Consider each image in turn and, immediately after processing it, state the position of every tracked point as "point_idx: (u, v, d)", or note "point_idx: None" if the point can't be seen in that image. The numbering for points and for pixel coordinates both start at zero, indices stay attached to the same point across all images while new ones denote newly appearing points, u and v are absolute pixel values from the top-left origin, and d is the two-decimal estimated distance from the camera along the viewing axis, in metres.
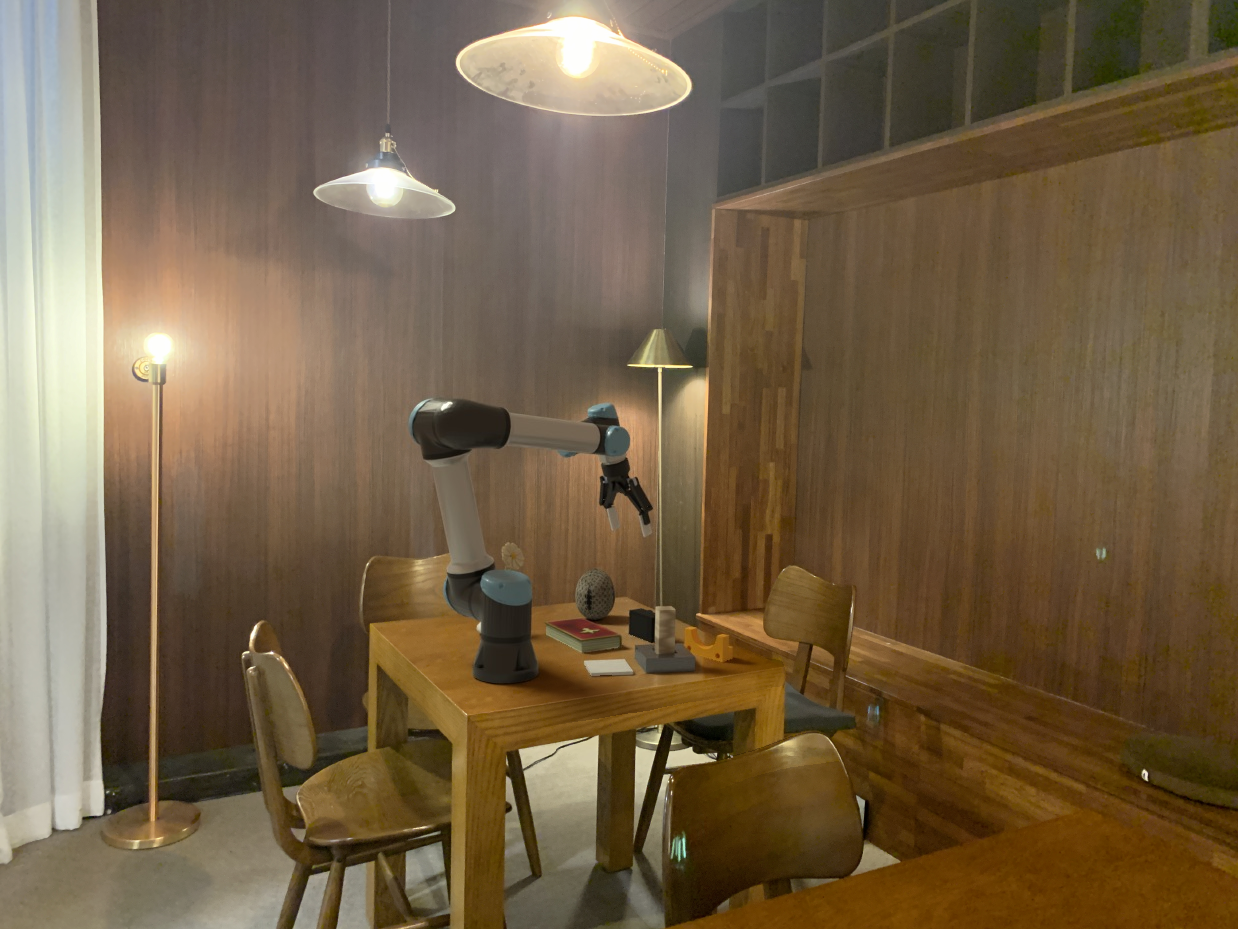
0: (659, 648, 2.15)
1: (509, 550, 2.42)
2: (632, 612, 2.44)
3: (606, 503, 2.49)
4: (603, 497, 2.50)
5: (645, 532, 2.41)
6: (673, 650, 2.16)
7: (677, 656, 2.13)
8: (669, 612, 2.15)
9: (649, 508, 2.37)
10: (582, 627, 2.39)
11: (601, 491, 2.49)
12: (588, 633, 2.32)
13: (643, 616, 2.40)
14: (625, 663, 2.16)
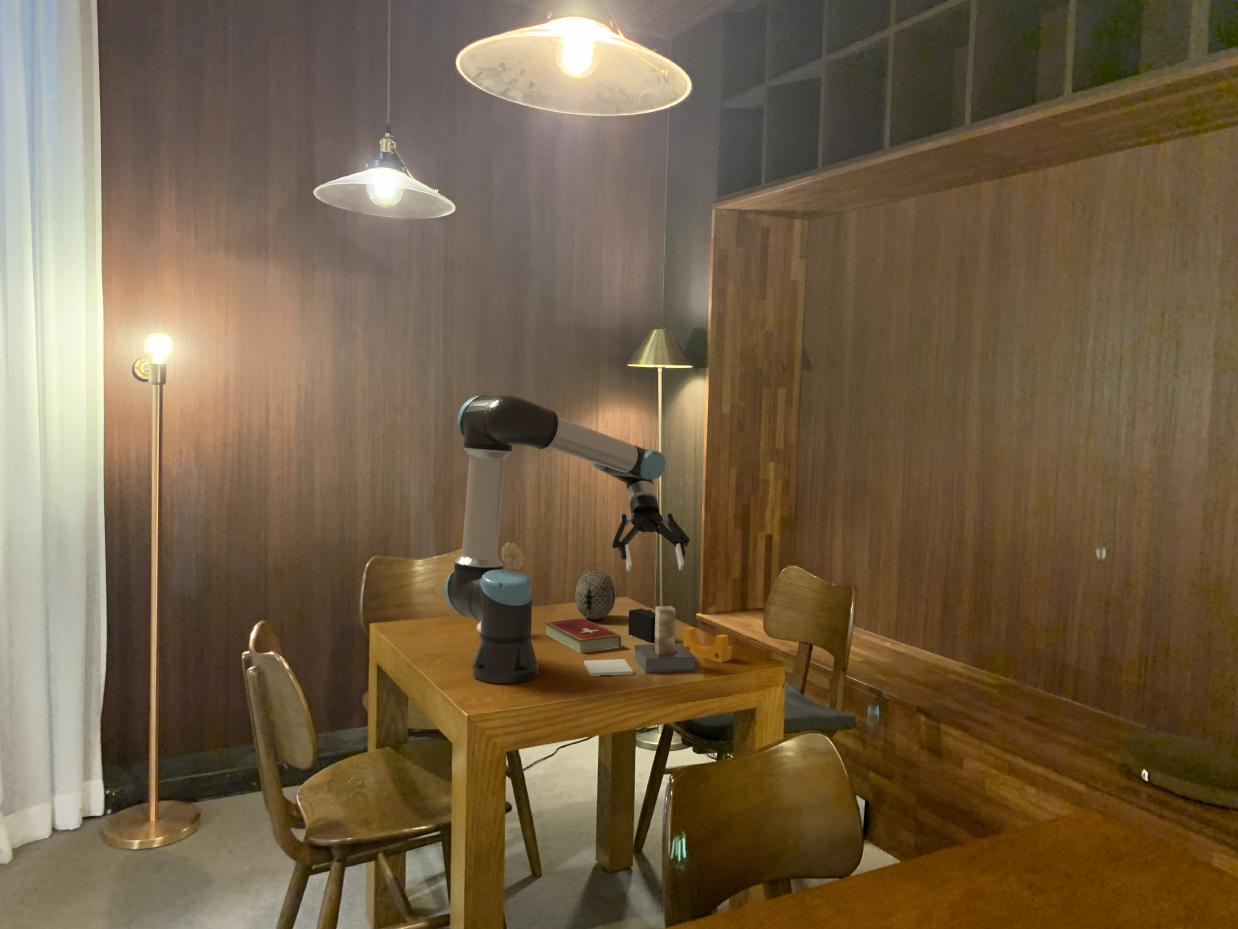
0: (659, 648, 2.15)
1: (509, 550, 2.42)
2: (632, 612, 2.44)
3: (626, 539, 2.30)
4: (620, 535, 2.31)
5: None
6: (673, 650, 2.16)
7: (677, 656, 2.13)
8: (669, 612, 2.15)
9: None
10: (582, 627, 2.39)
11: (621, 528, 2.32)
12: (587, 633, 2.32)
13: (643, 616, 2.40)
14: (625, 663, 2.16)
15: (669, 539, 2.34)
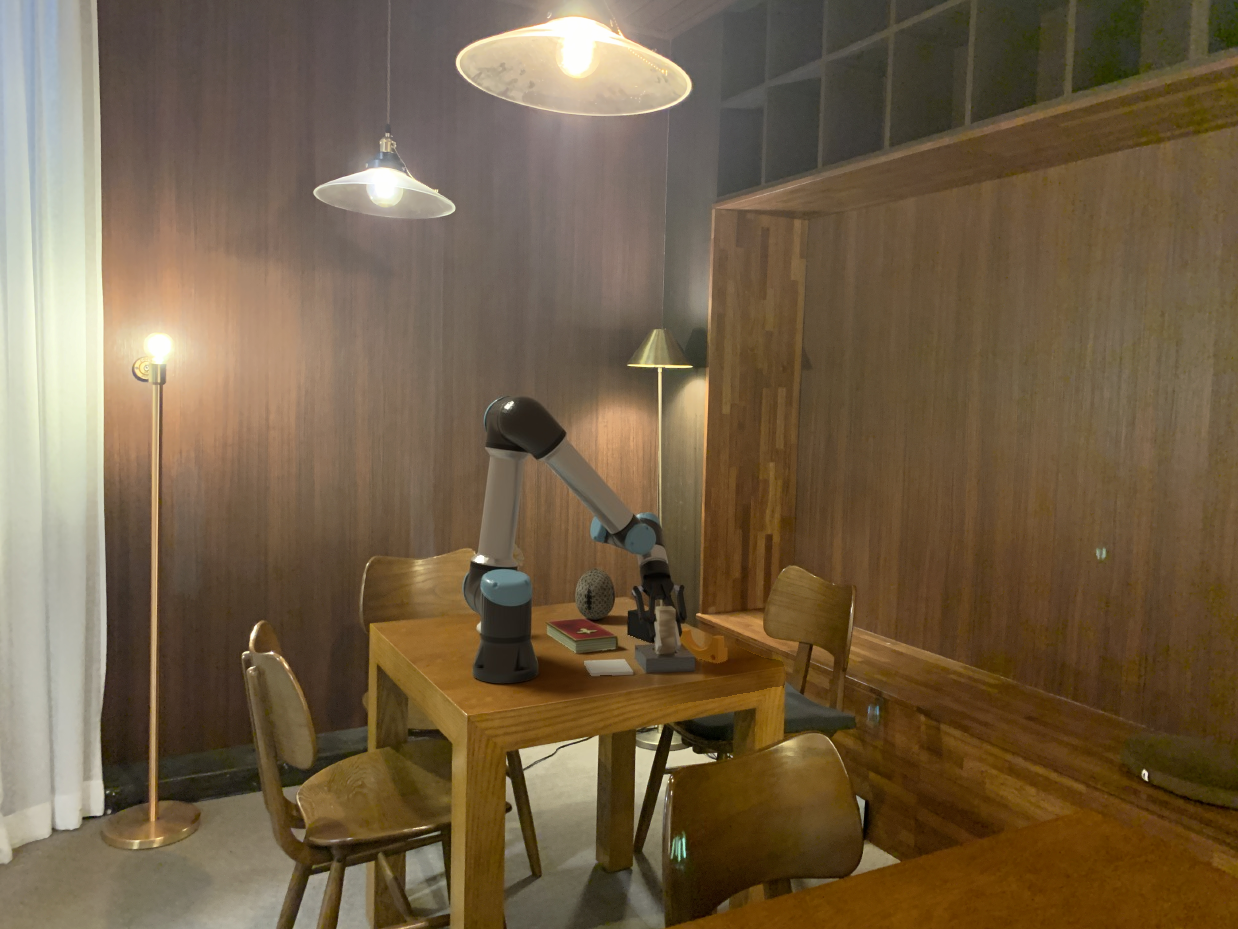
0: None
1: None
2: (631, 613, 2.44)
3: (652, 614, 2.18)
4: None
5: None
6: (673, 650, 2.16)
7: (677, 656, 2.13)
8: (669, 612, 2.15)
9: None
10: (581, 627, 2.38)
11: (641, 602, 2.20)
12: (584, 633, 2.32)
13: None
14: (625, 663, 2.16)
15: None
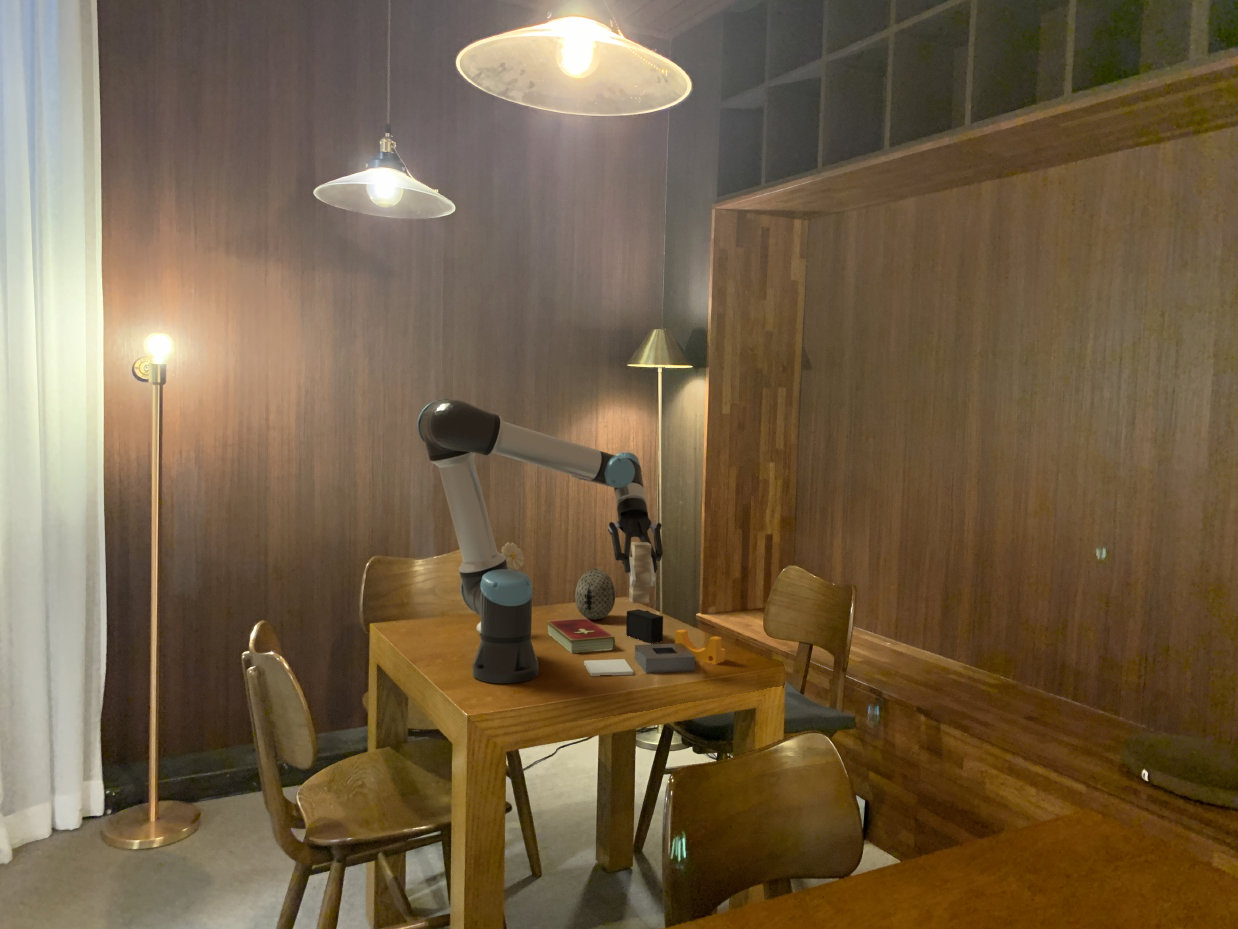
0: None
1: (509, 550, 2.42)
2: (630, 613, 2.43)
3: (628, 550, 2.15)
4: None
5: None
6: (648, 586, 2.13)
7: (677, 656, 2.13)
8: (645, 547, 2.12)
9: None
10: (580, 627, 2.38)
11: (616, 537, 2.17)
12: (582, 634, 2.32)
13: (642, 617, 2.39)
14: (625, 663, 2.16)
15: None
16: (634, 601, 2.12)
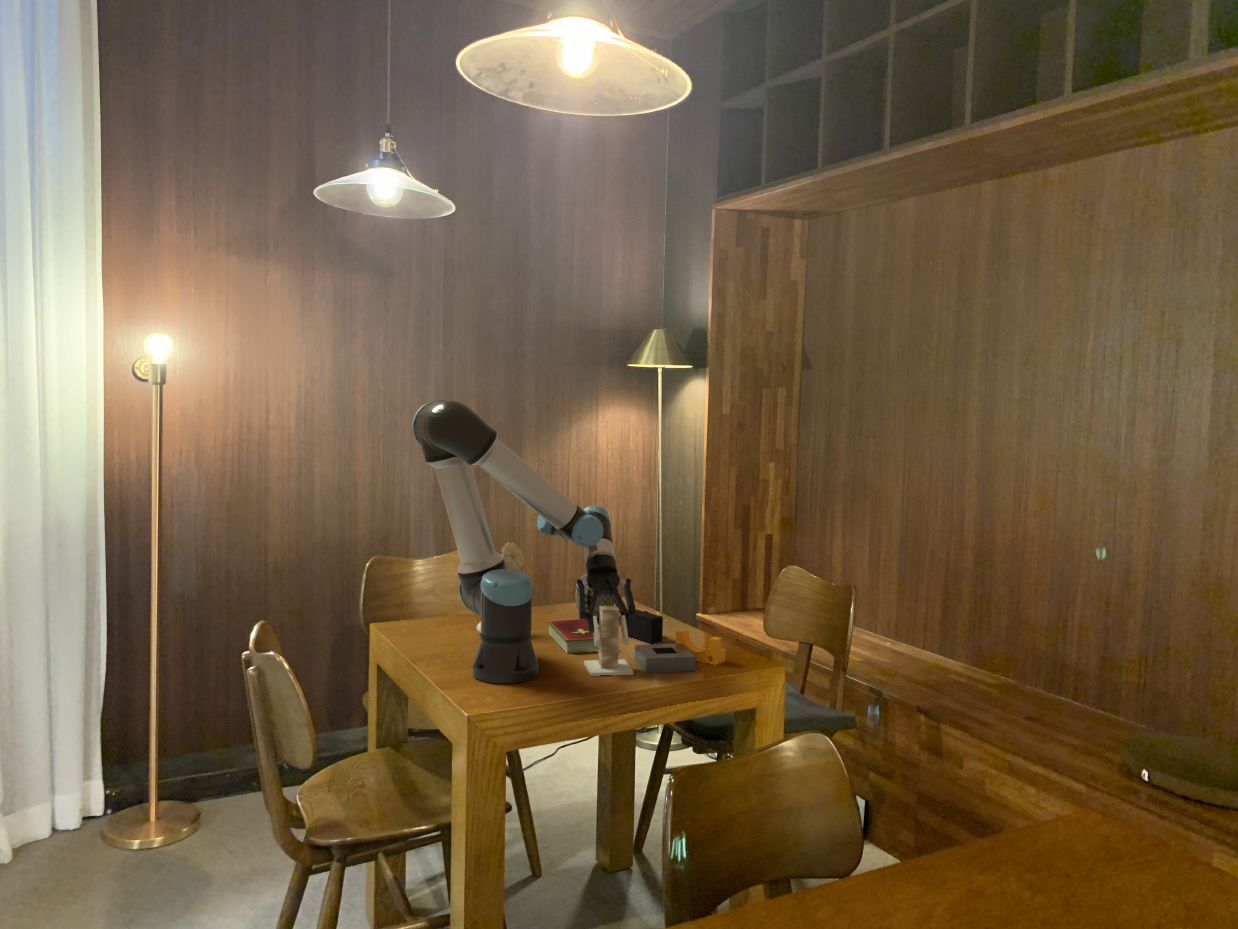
0: (602, 649, 2.11)
1: (509, 550, 2.42)
2: None
3: (592, 608, 2.13)
4: (584, 603, 2.14)
5: None
6: (617, 651, 2.11)
7: (677, 656, 2.13)
8: (613, 612, 2.11)
9: None
10: (579, 628, 2.38)
11: (582, 595, 2.15)
12: (579, 634, 2.31)
13: (642, 617, 2.39)
14: (625, 663, 2.16)
15: (617, 607, 2.17)
16: (603, 667, 2.11)
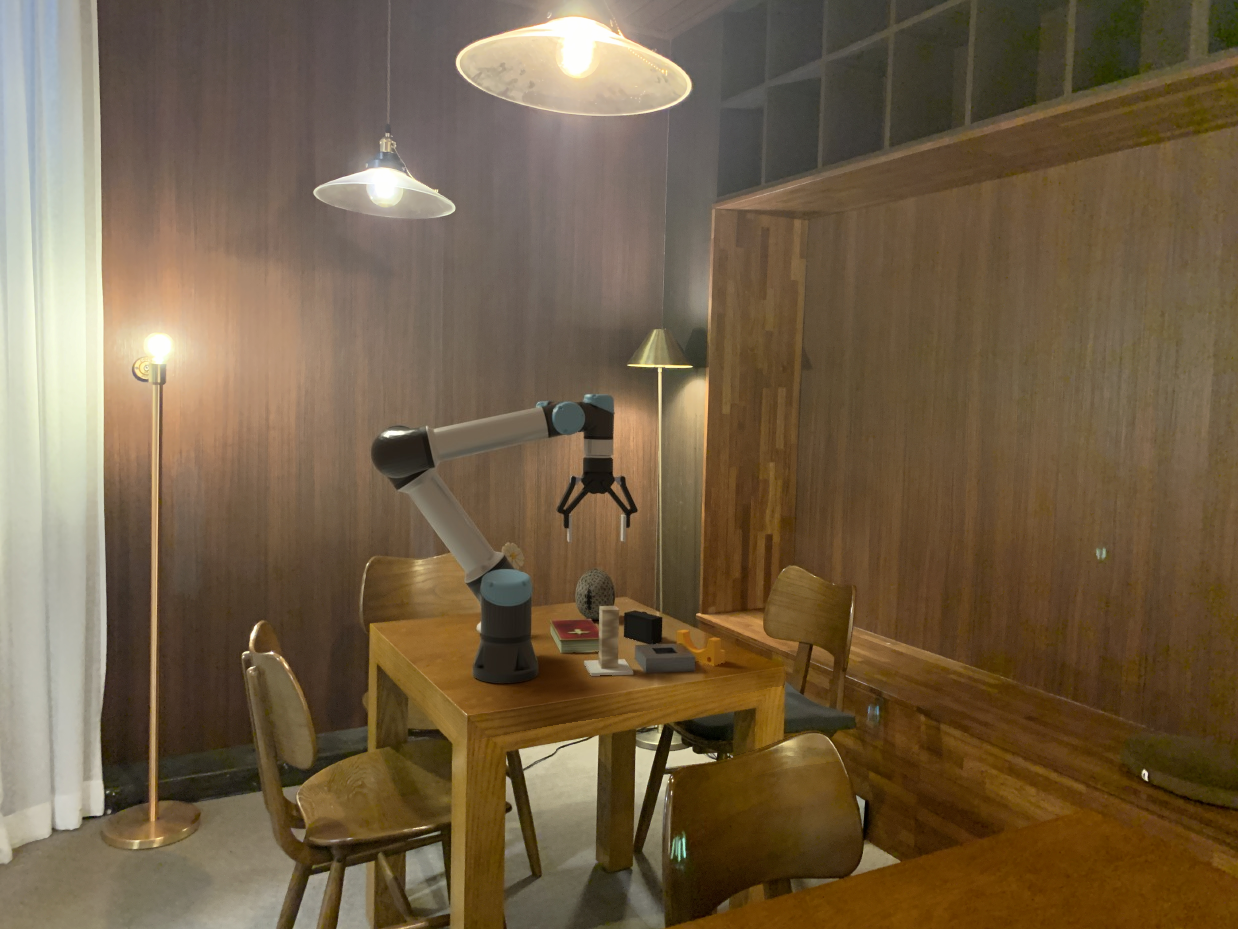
0: (602, 649, 2.11)
1: (509, 550, 2.42)
2: (628, 614, 2.41)
3: (571, 508, 2.21)
4: None
5: None
6: (617, 651, 2.11)
7: (677, 656, 2.13)
8: (613, 612, 2.11)
9: None
10: (578, 628, 2.38)
11: (568, 494, 2.20)
12: (575, 634, 2.31)
13: (641, 618, 2.38)
14: (625, 663, 2.16)
15: (617, 504, 2.25)
16: (603, 667, 2.11)
